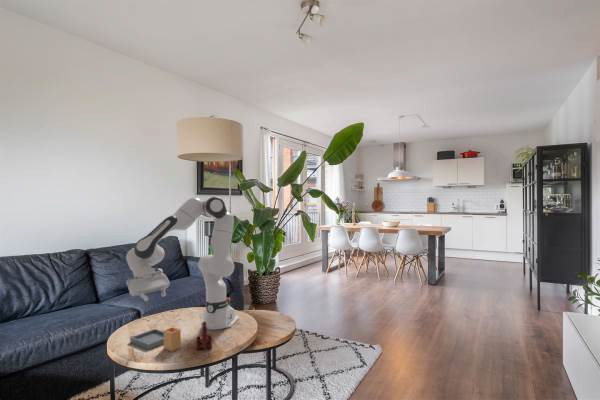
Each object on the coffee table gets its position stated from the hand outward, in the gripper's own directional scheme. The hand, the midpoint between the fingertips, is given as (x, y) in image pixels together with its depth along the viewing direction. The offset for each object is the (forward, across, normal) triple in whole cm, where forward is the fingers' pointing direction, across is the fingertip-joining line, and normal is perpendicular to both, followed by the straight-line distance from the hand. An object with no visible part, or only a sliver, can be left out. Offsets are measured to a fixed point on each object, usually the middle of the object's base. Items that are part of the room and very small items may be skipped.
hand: (155, 298), depth 171 cm
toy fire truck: (+32, +10, -1) cm, 34 cm away
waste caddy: (+24, 0, +7) cm, 25 cm away
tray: (+13, 0, +18) cm, 22 cm away
